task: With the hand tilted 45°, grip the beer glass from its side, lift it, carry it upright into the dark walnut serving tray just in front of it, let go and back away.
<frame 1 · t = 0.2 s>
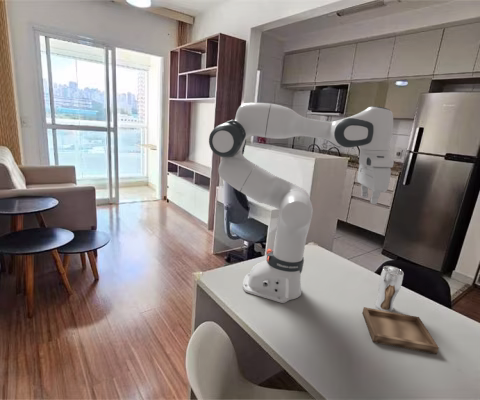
hand: (368, 200, 98), 39 cm above the table, tool pointing down, fingers open, 8 cm apart
beer glass: (383, 307, 107), on the table
walnut tray: (396, 332, 94), on the table
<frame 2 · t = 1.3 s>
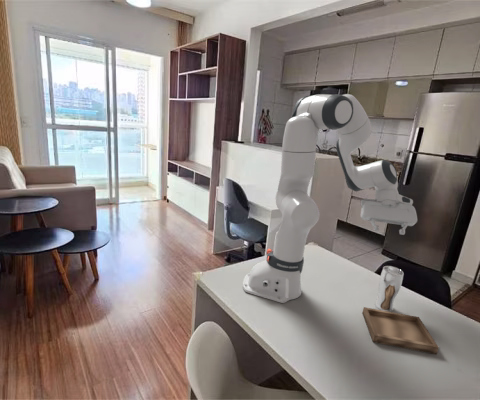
hand: (389, 232, 112), 25 cm above the table, tool tilted 45°, fingers open, 8 cm apart
nothing on the table moved.
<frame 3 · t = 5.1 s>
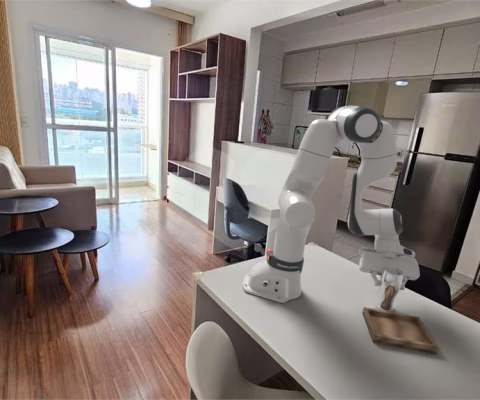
hand: (389, 287, 104), 8 cm above the table, tool tilted 45°, fingers closed on beer glass, 7 cm apart
beer glass: (383, 307, 107), on the table, touching gripper
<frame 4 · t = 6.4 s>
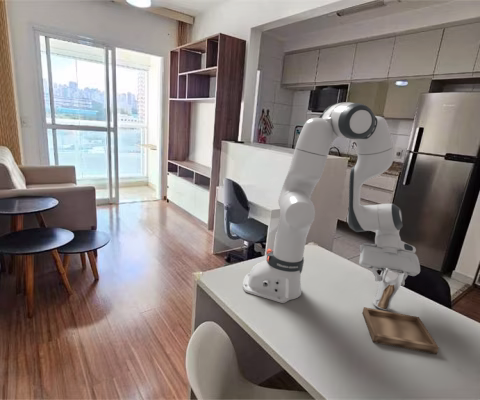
hand: (389, 283, 103), 10 cm above the table, tool tilted 45°, fingers closed on beer glass, 6 cm apart
beer glass: (380, 305, 107), point 1 cm above the table, touching gripper
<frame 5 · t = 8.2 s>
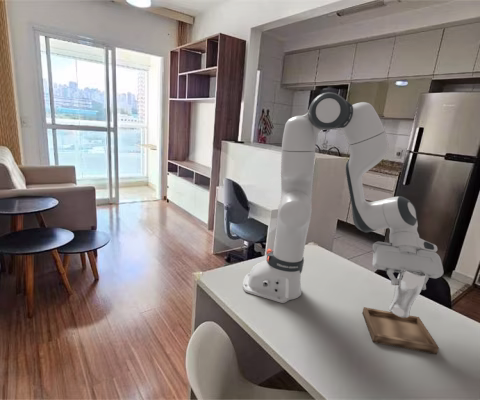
hand: (408, 287, 90), 16 cm above the table, tool tilted 45°, fingers closed on beer glass, 6 cm apart
beer glass: (398, 312, 93), point 7 cm above the table, touching gripper
when the fingers open (11 cm above the table, at t = 10.3 s): beer glass moves 1 cm, resting on walnut tray.
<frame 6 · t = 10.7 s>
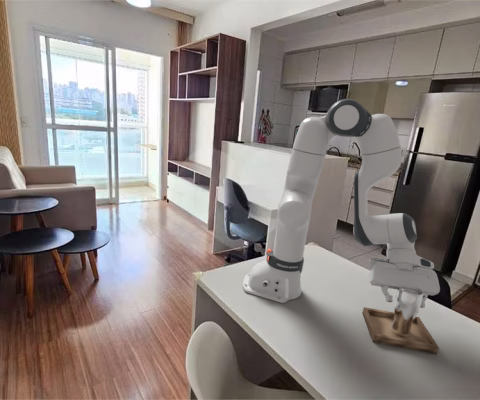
hand: (405, 304, 90), 11 cm above the table, tool tilted 45°, fingers open, 8 cm apart
beer glass: (399, 330, 93), point 1 cm above the table, touching gripper, walnut tray
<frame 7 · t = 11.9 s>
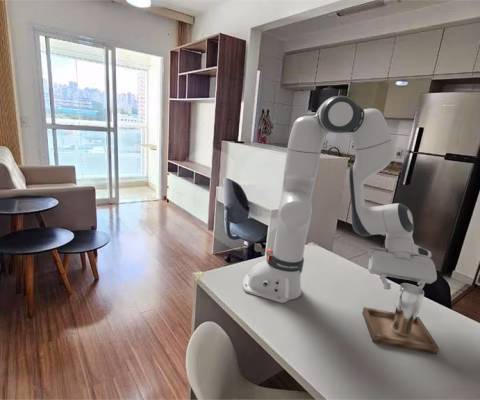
hand: (402, 291, 93), 13 cm above the table, tool tilted 45°, fingers open, 8 cm apart
beer glass: (400, 330, 94), point 1 cm above the table, touching walnut tray
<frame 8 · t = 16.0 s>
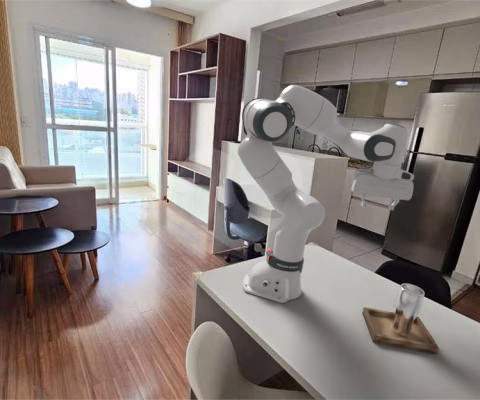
hand: (377, 208, 108), 34 cm above the table, tool pointing down, fingers open, 8 cm apart
nothing on the table moved.
at the end: beer glass inside the target area on the walnut tray (1.1 cm from its centre), point 0.8 cm above the walnut tray's base; beer glass tilted 0°; the gripper is holding nothing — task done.
